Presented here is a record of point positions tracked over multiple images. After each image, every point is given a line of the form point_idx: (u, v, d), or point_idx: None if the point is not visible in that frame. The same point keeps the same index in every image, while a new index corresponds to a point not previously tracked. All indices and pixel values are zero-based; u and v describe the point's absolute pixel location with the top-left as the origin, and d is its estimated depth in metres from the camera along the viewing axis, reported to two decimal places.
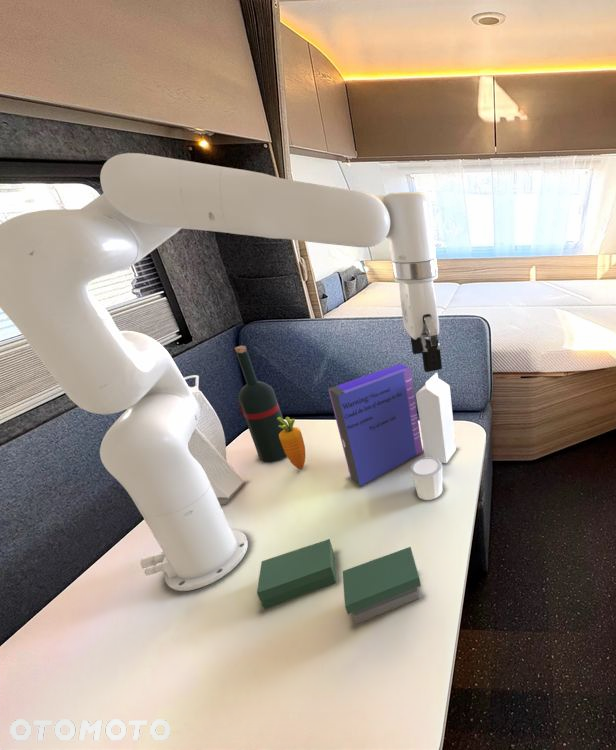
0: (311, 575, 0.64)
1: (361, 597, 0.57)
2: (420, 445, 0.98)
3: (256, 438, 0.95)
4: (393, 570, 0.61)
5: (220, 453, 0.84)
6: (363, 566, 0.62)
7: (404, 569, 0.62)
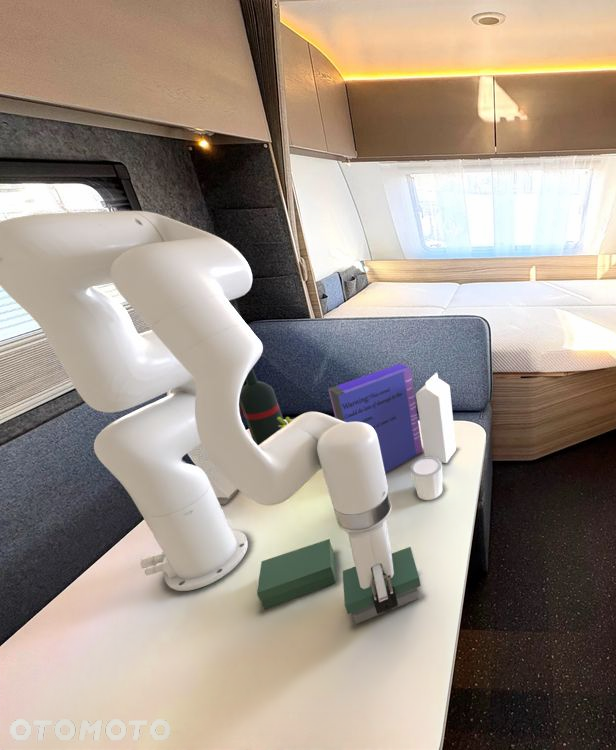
0: (311, 575, 0.64)
1: (361, 597, 0.57)
2: (420, 445, 0.98)
3: (256, 438, 0.95)
4: (393, 570, 0.61)
5: None
6: None
7: (404, 569, 0.62)
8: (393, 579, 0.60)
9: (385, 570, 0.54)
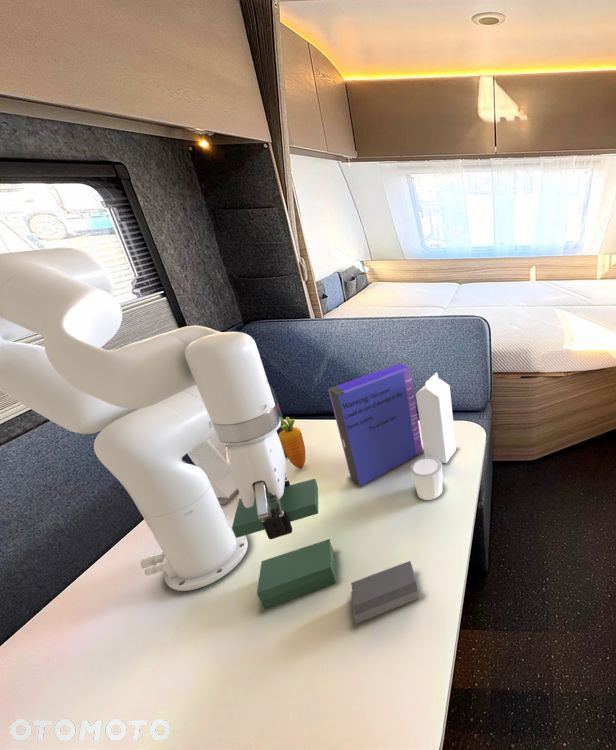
0: (311, 575, 0.64)
1: (250, 520, 0.56)
2: (420, 444, 0.98)
3: None
4: (291, 498, 0.60)
5: (220, 453, 0.84)
6: None
7: (303, 497, 0.60)
8: (288, 505, 0.58)
9: (269, 489, 0.53)
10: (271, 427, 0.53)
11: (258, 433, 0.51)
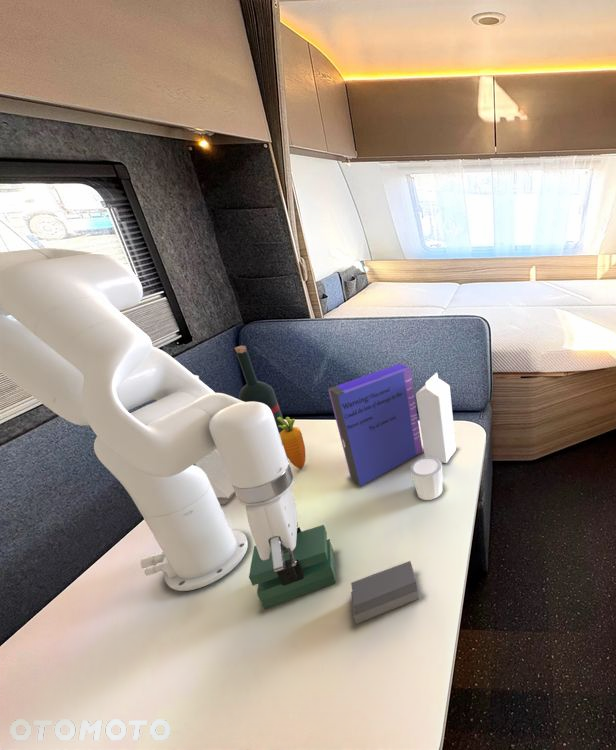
0: (311, 575, 0.64)
1: (266, 569, 0.61)
2: (420, 444, 0.98)
3: None
4: (302, 546, 0.65)
5: None
6: None
7: (313, 544, 0.65)
8: (300, 553, 0.63)
9: (284, 543, 0.58)
10: (285, 486, 0.57)
11: (274, 494, 0.56)
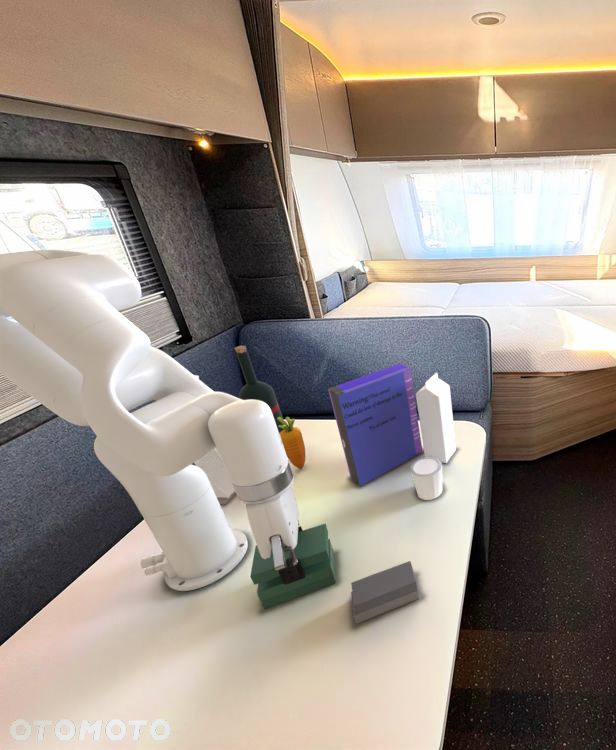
0: (311, 575, 0.64)
1: (267, 568, 0.60)
2: (420, 444, 0.98)
3: None
4: (303, 544, 0.64)
5: None
6: None
7: (314, 543, 0.64)
8: (301, 552, 0.63)
9: (284, 541, 0.57)
10: (285, 484, 0.57)
11: (274, 492, 0.56)
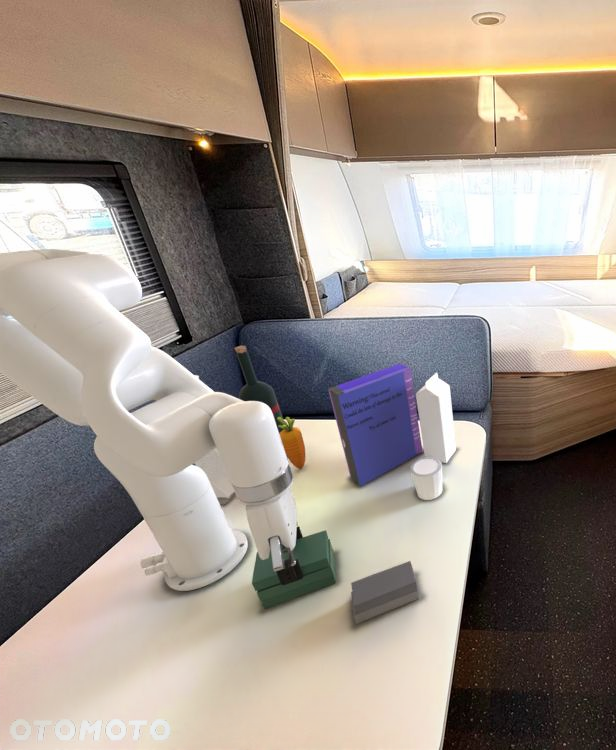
0: (311, 575, 0.64)
1: (268, 575, 0.61)
2: (420, 444, 0.98)
3: None
4: (304, 551, 0.65)
5: None
6: None
7: (315, 550, 0.65)
8: (302, 559, 0.64)
9: (283, 542, 0.58)
10: (285, 486, 0.57)
11: (274, 493, 0.56)
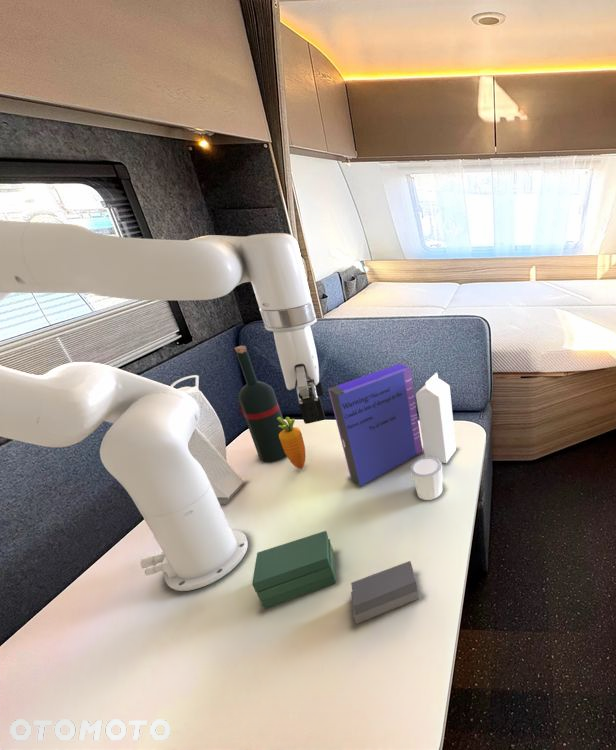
0: (311, 575, 0.64)
1: (269, 576, 0.61)
2: (420, 444, 0.98)
3: (256, 438, 0.95)
4: (304, 552, 0.65)
5: (220, 453, 0.84)
6: (278, 548, 0.66)
7: (315, 550, 0.65)
8: (302, 560, 0.64)
9: (308, 372, 0.61)
10: (310, 319, 0.61)
11: (299, 321, 0.59)
